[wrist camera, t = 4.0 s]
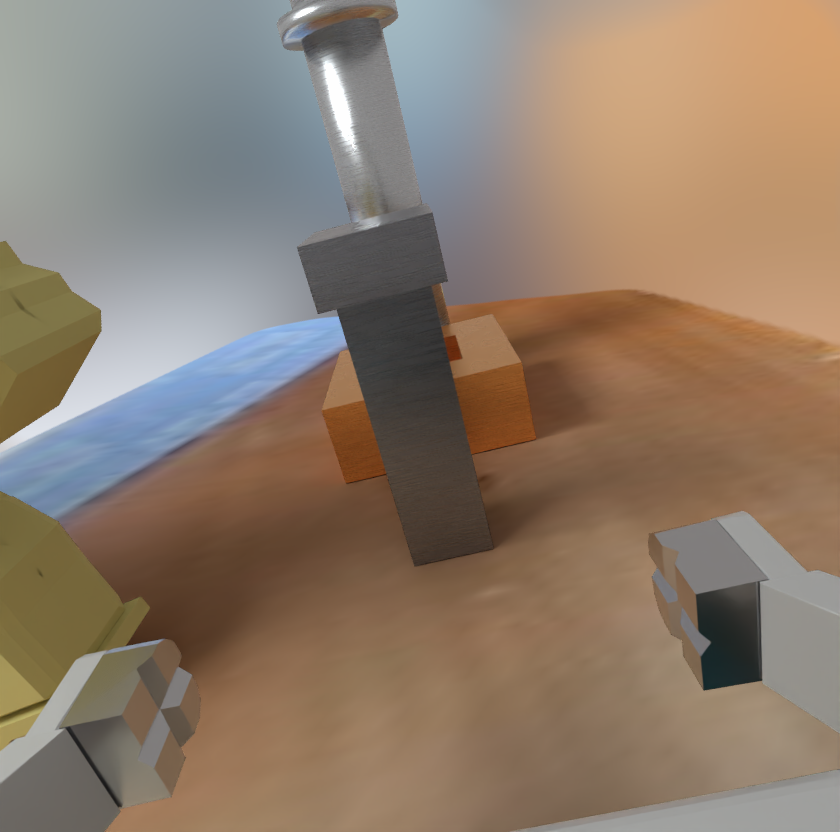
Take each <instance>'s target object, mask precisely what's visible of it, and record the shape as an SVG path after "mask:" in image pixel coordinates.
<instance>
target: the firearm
mask: <svg viewBox="0 0 840 832" xmlns="http://www.w3.org/2000/svg"><path fill="white" fill-rule="evenodd" d="M100 332H101V310H100V309H99V308H97V307H96V306H94V305H92V304H91V303H89V302H87V301H86V300H85V299H83V298H82V297H80V296H79V295H77V294H75V293H74V292H72V291H71V289H70V288H69V287H68V285H67V284H66V282H65V281H64V279H63V278H62V277H61V275H60V274H59V273H58V272H54V271H50V270H46V269H42V268H38V267H33V266H30V265H26V264H22V262H21V261H20V260H19V258H18V257H17V255H16V254H15V253H14V252H13V250H12V249H11V247H10V246H9V245H8V243H7V242H6V241H3V242H0V443H2V442H3V441H5V440H6V439H8V438H9V437H11V436H12V435H14V434H15V433H17V432H18V431H20V430H21V429H23V428H25V427H26V426H28V425H29V424H31V423H32V422H34V421H35V420H37V419H38V418H40V417H42V416H43V415H45V414H46V413H48V412H49V411H50V410H52V409H54V408H55V407H57V406H58V405H59V404H60V402H61V401H62V399H63V397H64V396H65V394H66V392H67V390H68V389H69V387H70V385H71V383H72V382H73V380H74V378H75V376H76V374H77V373H78V371H79V369H80V367H81V366H82V364H83V362H84V360H85V359H86V357H87V355H88V353H89V352H90V350H91V348H92V346H93V345H94V343H95V341H96V339H97V337H98V336H99V334H100ZM149 609H150V607H149V606H148V604H147V603H146V602H145V601H144V599H143V598H142V597H138V598H136V599H133V600H131V601H129V602H126V603H124V604H122V602H121V600H120V597H119V596H118V594H117V593H116V592H115V591H114V590H113V589H112V587H111V586H110V585H109V584H108V583H107V581H106V580H105V579H104V578H103V577H102V576H101V574H100V573H99V572H98V571H97V570H96V568H95V567H94V566H93V565H92V564H91V563H90V561H89V560H88V559H87V558H86V557H85V555H84V554H83V553H82V552H81V551H80V549H79V548H78V547H77V545H76V544H75V543H74V542H73V540H72V539H71V538H70V536H69V535H68V534H67V533H66V531H65V530H64V529H63V527H62V526H61V525H60V523H59V522H58V521H56V520H54V519H53V518H51V517H49V516H47V515H46V514H44V513H42V512H40V511H38V510H37V509H35V508H33V507H31V506H30V505H28V504H26V503H24V502H22V501H21V500H19V499H17V498H15V497H12V496H9V495H7V494H5V493H3V492H1V491H0V751H1V750H2V749H4V748H5V747H6V746H7V745H8V744H9V743H10V742H11V740H14V739H16V738H19V737H22V736H25V735H26V734H27V733H28V731H29V730H30V728H31V727H32V725H33V724H34V722H35V721H36V719H37V718H38V716H39V715H40V713H41V712H42V710H43V709H44V707H45V706H46V704H47V703H48V701H49V700H50V698H51V697H52V695H53V694H54V692H55V691H56V689H57V687H58V686H59V684H60V683H61V681H62V680H63V678H64V677H65V675H66V674H67V672H68V671H69V669H70V668H71V666H72V665H73V663H74V662H75V660H77V659H78V658H80V657H82V656H84V655H86V654H91V653H96V652H100V651H105V650H111V649H114V648H119V647H124V646H126V645H127V643H128V642H129V640H130V639H131V637H132V636H133V634H134V632H135V631H136V629H137V628H138V626H139V625H140V623H141V622H142V620H143V618H144V617H145V615H146V614H147V612H148V611H149Z"/></svg>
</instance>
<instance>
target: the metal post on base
mask: <svg viewBox="0 0 840 832" xmlns="http://www.w3.org/2000/svg"><path fill="white" fill-rule="evenodd" d="M290 3H291V7H292V10H291V11H289V12H287V13H286V14H285V15H283V16H282V17H281V18H280V19H279V20H278V22H277V27H278V30H279V34H280V37H281V40H282V44H283V47H284V48H285V49H287V50H293V51H303V50H304V53H305V57H306V61H307V64H308V68H309V71H310V75H311V78H312V82H313V86H314V89H315V93H316V97H317V100H318V104H319V107H320V111H321V115H322V118H323V121H324V125H325V129H326V133H327V136H328V140H329V143H330V147H331V151H332V154H333V158H334V161H335V165H336V169H337V172H338V176H339V180H340V183H341V187H342V190H343V194H344V198H345V201H346V205H347V208H348V212H349V215H350V219H351V223H353V222H357V221H361V220H364V219H368V218H372V217H376V216H380V215H384V214H387V213H391V212H395V211H399V210H403V209H407V208H410V207H414V206H418V205H422V200H421V195H420V191H419V186H418V182H417V178H416V173H415V169H414V165H413V160H412V156H411V152H410V147H409V143H408V139H407V135H406V131H405V126H404V121H403V117H402V113H401V108H400V104H399V100H398V95H397V91H396V87H395V82H394V78H393V74H392V69H391V65H390V61H389V56H388V52H387V48H386V43H385V39H384V35H383V30H382V29H383V28H385V27H387V26H388V25H390V24H392V23H393V22H394V21H395V20H396V19H397V18H398V12H397V7H396V3H395V0H290ZM431 286H432V290H433V294H434V299H435V303H436V307H437V311H438V315H439V320H440V324H441V328H442V332H443V337H444V341H445V345H446V349H447V353H448V358H449V362H450V366H451V370H452V375H453V379H454V383H455V387H456V392H457V396H458V400H459V404H460V408H461V413H462V417H463V421H464V425H465V430H466V434H467V438H468V442H469V446H470V451H471V454H474V453H478V452H483V451H487V450H491V449H496V448H500V447H504V446H509V445H513V444H517V443H522V442H526V441H530V440H534V439H536V436H535V431H534V426H533V420H532V415H531V410H530V404H529V399H528V394H527V388H526V383H525V378H524V373H523V367H522V362H521V360H520V359H519V357H518V355H517V354H516V352H515V350H514V349H513V347H512V346H511V344H510V342H509V341H508V339H507V337H506V336H505V334H504V332H503V331H502V329H501V327H500V326H499V324H498V322H497V321H496V319H495V317H494V316H493V314H490V315H486V316H482V317H478V318H474V319H470V320H466V321H462V322H458V323H454V324H450V321H449V317H448V312H447V308H446V304H445V299H444V295H443V290H442V287H441V283H439V284H435V285H431ZM322 413H323V416H324V419H325V422H326V425H327V428H328V431H329V434H330V437H331V440H332V443H333V446H334V449H335V452H336V455H337V458H338V461H339V464H340V467H341V470H342V473H343V476H344V479H345V482H346V483H349V482H354V481H358V480H362V479H367V478H371V477H375V476H380V475H384V474H386V471H385V468H384V464H383V461H382V458H381V454H380V451H379V448H378V444H377V441H376V438H375V435H374V431H373V428H372V425H371V421H370V418H369V415H368V411H367V408H366V405H365V402H364V398H363V395H362V392H361V388H360V385H359V382H358V378H357V375H356V372H355V368H354V365H353V362H352V359H351V355H350V352H349V350H345V351H341V352H340V354H339V357H338V360H337V363H336V367H335V370H334V373H333V376H332V379H331V382H330V385H329V389H328V392H327V395H326V398H325V401H324V404H323V407H322Z"/></svg>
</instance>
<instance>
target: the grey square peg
mask: <svg viewBox="0 0 840 832" xmlns="http://www.w3.org/2000/svg"><path fill="white" fill-rule="evenodd" d="M297 249H298V252H299V256H300V259H301V262H302V265H303V268H304V271H305V274H306V278H307V281H308V284H309V287H310V290H311V293H312V297H313V300H314V303H315V306H316V309H317V312H318V314H320V313H324V312H328V311H332V310H336V309H337V312H338V316H339V319H340V322H341V326H342V329H343V332H344V335H345V339H346V342H347V345H348V349H349V352H350V355H351V359H352V362H353V365H354V368H355V372H356V375H357V378H358V382H359V385H360V388H361V392H362V395H363V398H364V402H365V405H366V408H367V411H368V415H369V418H370V421H371V425H372V428H373V431H374V435H375V438H376V441H377V444H378V448H379V451H380V454H381V458H382V461H383V464H384V468H385V471H386V474H387V477H388V481H389V484H390V487H391V491H392V494H393V497H394V501H395V504H396V507H397V510H398V514H399V517H400V520H401V524H402V527H403V530H404V534H405V537H406V540H407V544H408V547H409V550H410V553H411V557H412V560H413V563H414V566H417V565H422V564H427V563H431V562H436V561H440V560H445V559H449V558H454V557H458V556H463V555H467V554H472V553H476V552H481V551H485V550H490V549H494V548H493V544H492V539H491V535H490V531H489V527H488V523H487V518H486V514H485V510H484V506H483V501H482V497H481V493H480V489H479V484H478V480H477V476H476V472H475V468H474V463H473V459H472V455H471V451H470V446H469V442H468V438H467V434H466V430H465V425H464V421H463V417H462V413H461V408H460V404H459V400H458V396H457V392H456V387H455V383H454V379H453V375H452V370H451V366H450V362H449V358H448V353H447V349H446V345H445V341H444V337H443V332H442V328H441V324H440V320H439V315H438V311H437V307H436V303H435V299H434V294H433V290H432V286H431V285H435V284H439V283H443V282H447V281H448V280H447V275H446V271H445V267H444V262H443V258H442V253H441V249H440V244H439V240H438V235H437V231H436V226H435V222H434V217H433V213H432V211H431V209H430V208H429V206H428V205H427V204H422V205H418V206H414V207H410V208H407V209H403V210H399V211H395V212H391V213H387V214H384V215H380V216H376V217H372V218H368V219H364V220H361V221H357V222H353V223H349V224H345V225H342V226H338V227H334V228H330V229H326V230H322V231H319V232H315V233H314V234H313V235H311V236H310V237H309V238H308V239H307V240H305V241H304V242H303V243H302V244H301V245H299V246H298V247H297Z"/></svg>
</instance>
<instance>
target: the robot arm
mask: <svg viewBox="0 0 840 832" xmlns="http://www.w3.org/2000/svg"><path fill="white" fill-rule="evenodd" d="M648 546H649V555H650V556H651V558H652V560H653V561H654V563H655V564H656V566H657V569H656V571H655V573H654V574H653V576H652V581H653V588H654V594H655V597H656V601H657V604H658V608H659V611H660V613H661V616H662V618H663V620H664V623H665V624H666V626H667V628H668V630H669V632H670V633H671V635H673V636H674V637H676V638H678V639H680V640H682V646H683V656H684V658H685V660H686V661H687V663H688V665H689V666H690V668H691V670H692V672H693V673H694V675H695V677H696V678H697V680H698V682H699V684H700V685H701V687H702V689H703V690H710V689H716V688H721V687H727V686H733V685H739V684H745V683H751V682H757V681H762V682H763V684H764V685H766V686H767V687H769V688H770V689H772V690H773V691H775V692H777V693H778V694H780V695H781V696H783V697H784V698H786V699H787V700H789V701H790V702H792V703H793V704H795V705H797V706H798V707H800V708H801V709H803V710H804V711H806V712H807V713H809V714H810V715H812V716H813V717H815V718H816V719H818V720H820V721H821V722H823V723H824V724H826V725H827V726H829V727H830V728H832V729H833V730H835V731H836V732H838V733H840V577H837V576H834V575H831V574H828V573H825V572H823V571H820V570H815V571H810V572H808V571H807V570H806V569H805V568H804V567H803V566H802V565H801V564H800V563H799V562H798V561H797V560H795V559H794V558H793V557H792V556H791V555H790V554H789V553H788V552H787V551H786V550H785V549H784V548H783V547H782V546H781V545H780V544H779V543H778V542H777V541H776V540H775V539H774V538H773V537H772V536H771V535H770V534H769V533H768V532H767V531H766V530H765V529H764V528H763V527H762V526H761V525H760V524H759V523H758V522H757V521H756V520H755V519H754V518H753V517H752V516H751V515H750V514H749V513H747V512H744V511H740V512H736V513H732V514H728V515H724V516H720V517H716V518H711V520H707V521H703V522H698V523H694V524H690V525H685V526H681V527H676V528H672V529H667V530H663V531H658V532H654V533H649V538H648ZM181 657H182V654H181V653H180V651H179V649H178V648H177V646H176V644H175V643H174V641H172V640H168V639H161V640H155V641H150V642H145V643H140V644H135V645H130V646H124V647H119V648H114V649H111V650H105V651H100V652H96V653H91V654H86V655H84V656H82V657H80V658H78V659H77V660H75V662H74V663H73V665H72V666H71V668H70V669H69V671H68V672H67V674H66V675H65V677H64V678H63V680H62V681H61V683H60V684H59V686H58V687H57V689H56V691H55V692H54V694H53V695H52V697H51V698H50V700H49V701H48V703H47V704H46V706H45V707H44V709H43V710H42V712H41V713H40V715H39V716H38V718H37V719H36V721H35V722H34V724H33V725H32V727H31V728H30V730H29V731H28V733H27V734H26V736H25V737H21V738H16V739H15V740H14V741H12V742H11V743H10V744H9V745H7V746H6V747H5V748H4V749H2V750H1V751H0V832H104V831H105V830H106V829H107V828H108V827H109V825H110V824H111V823H112V822H113V820H114V819H115V818H116V817H117V815H118V814H119V813H120V809H121V808H126V807H130V806H134V805H139V804H143V803H147V802H151V801H156V800H160V799H164V798H169V797H172V794H173V791H174V789H175V786H176V783H177V780H178V778H179V775H180V772H181V769H182V767H183V764H184V761H185V758H186V757H185V755H184V753H183V750H182V748H181V747H182V746H183V745H184V744H185V743H186V742H187V741H188V740H189V739H190V738H191V737H192V735H193V734H194V733H195V731H196V728H197V725H198V722H199V719H200V704H201V698H200V694H199V690H198V685H197V683H196V681H195V679H194V677H193V675H192V674H190V673H188V672H187V671H185V670H183V669H181V668H180V667H179V663H180V660H181ZM509 832H840V769H838V770H833V771H828V772H822V773H817V774H812V775H806V776H801V777H796V778H790V779H785V780H780V781H774V782H769V783H764V784H759V785H753V786H748V787H743V788H737V789H732V790H727V791H721V792H716V793H711V794H706V795H700V796H695V797H690V798H684V799H679V800H674V801H668V802H663V803H658V804H652V805H647V806H642V807H636V808H631V809H626V810H621V811H615V812H610V813H605V814H599V815H594V816H589V817H583V818H578V819H573V820H567V821H562V822H557V823H551V824H546V825H541V826H536V827H530V828H525V829H520V830H514V831H509Z"/></svg>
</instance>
